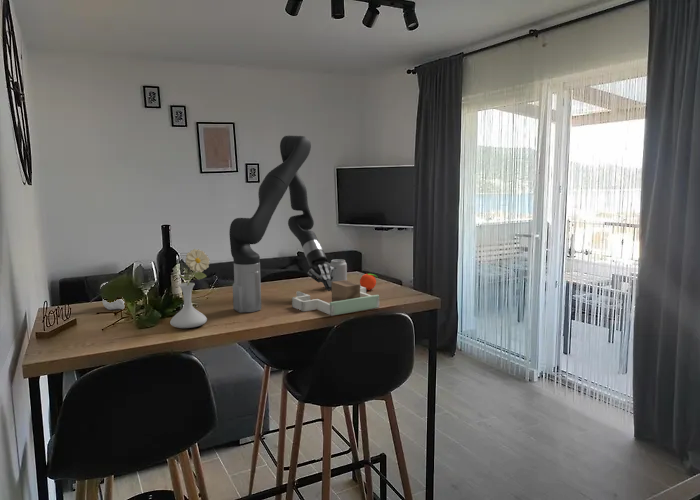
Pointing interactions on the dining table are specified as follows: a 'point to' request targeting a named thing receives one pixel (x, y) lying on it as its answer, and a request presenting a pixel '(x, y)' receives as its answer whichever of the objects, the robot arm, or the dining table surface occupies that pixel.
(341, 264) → the can
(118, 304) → the duck figurine
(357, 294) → the brown rectangular block
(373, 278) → the clementine
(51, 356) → the dining table surface
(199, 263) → the flower in vase
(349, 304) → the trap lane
